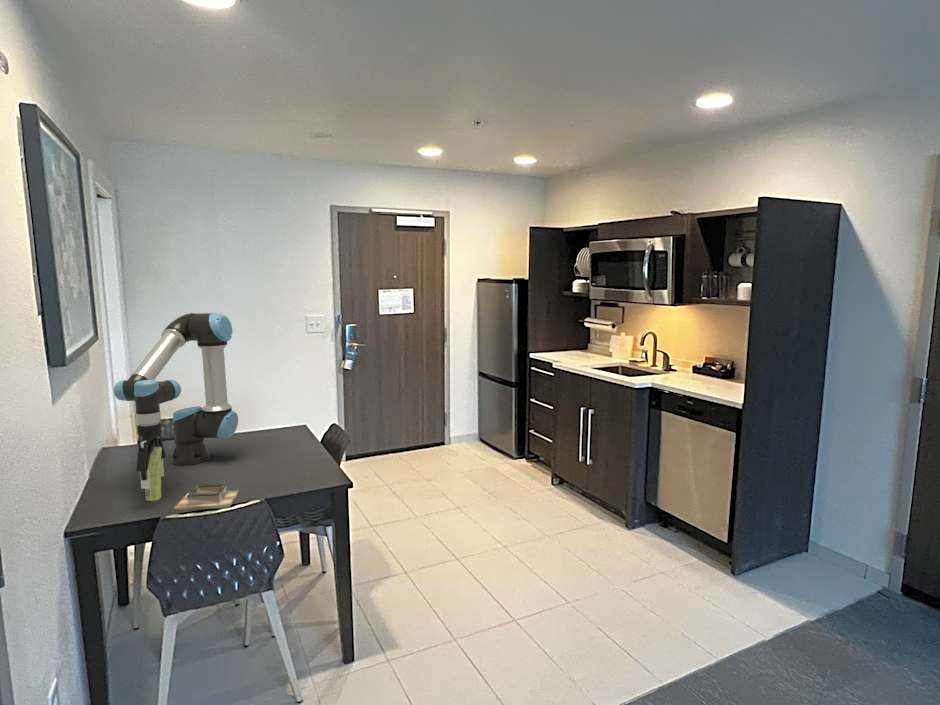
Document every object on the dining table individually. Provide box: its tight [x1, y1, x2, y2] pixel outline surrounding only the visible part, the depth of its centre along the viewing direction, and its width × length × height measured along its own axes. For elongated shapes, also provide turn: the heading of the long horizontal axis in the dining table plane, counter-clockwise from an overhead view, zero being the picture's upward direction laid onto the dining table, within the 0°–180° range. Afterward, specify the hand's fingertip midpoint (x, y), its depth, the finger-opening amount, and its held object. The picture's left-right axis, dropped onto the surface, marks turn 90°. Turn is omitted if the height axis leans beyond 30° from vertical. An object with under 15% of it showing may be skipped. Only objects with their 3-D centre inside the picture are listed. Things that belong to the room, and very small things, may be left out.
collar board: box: [173, 483, 240, 511], centre depth 208 cm, size 14×18×4 cm
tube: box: [144, 447, 162, 502], centre depth 209 cm, size 6×5×20 cm
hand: (153, 482), depth 210 cm, fingers open, 12 cm apart
